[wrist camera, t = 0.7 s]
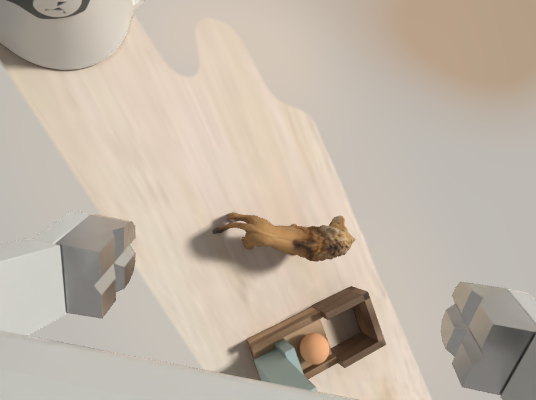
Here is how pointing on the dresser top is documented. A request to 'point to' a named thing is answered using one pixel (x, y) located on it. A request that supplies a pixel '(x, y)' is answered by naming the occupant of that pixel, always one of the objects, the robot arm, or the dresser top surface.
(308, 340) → the ball
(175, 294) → the dresser top surface
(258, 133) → the dresser top surface
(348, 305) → the dark brown open box
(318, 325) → the lane
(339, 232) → the lion figurine
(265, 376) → the grey-green l-shaped block
